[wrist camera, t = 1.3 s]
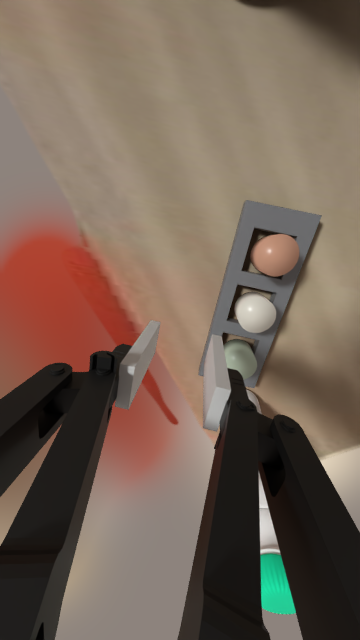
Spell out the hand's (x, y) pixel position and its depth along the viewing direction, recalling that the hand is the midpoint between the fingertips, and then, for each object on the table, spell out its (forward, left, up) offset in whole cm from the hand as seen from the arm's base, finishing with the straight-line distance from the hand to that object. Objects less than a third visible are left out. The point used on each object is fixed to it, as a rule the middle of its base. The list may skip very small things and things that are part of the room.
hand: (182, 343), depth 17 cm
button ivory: (0, +9, -17) cm, 20 cm away
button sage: (+8, +9, -17) cm, 21 cm away
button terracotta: (-8, +9, -17) cm, 21 cm away
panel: (0, +9, -20) cm, 22 cm away
